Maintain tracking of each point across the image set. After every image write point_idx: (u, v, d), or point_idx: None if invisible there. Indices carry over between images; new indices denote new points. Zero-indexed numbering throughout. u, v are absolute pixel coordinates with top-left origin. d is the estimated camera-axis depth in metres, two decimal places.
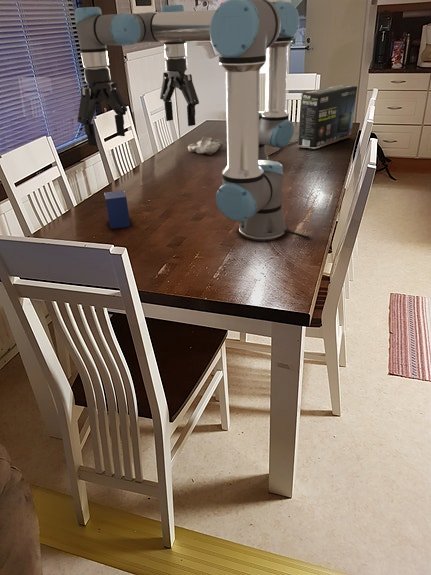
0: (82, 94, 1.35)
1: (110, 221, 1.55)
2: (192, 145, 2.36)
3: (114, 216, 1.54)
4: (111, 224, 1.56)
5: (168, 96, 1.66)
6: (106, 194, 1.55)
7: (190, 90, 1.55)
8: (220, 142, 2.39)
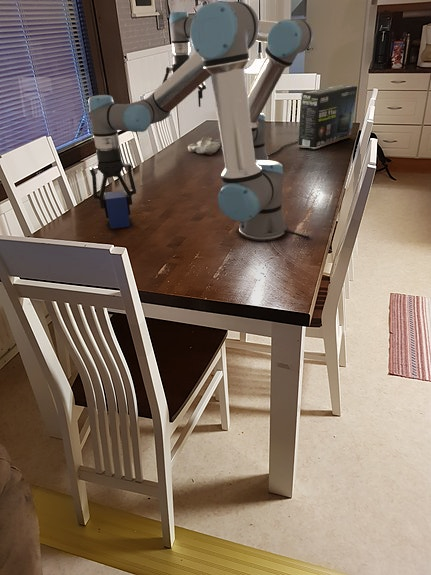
0: None
1: (110, 221, 1.55)
2: (192, 145, 2.36)
3: (114, 216, 1.54)
4: (111, 224, 1.56)
5: None
6: (106, 194, 1.55)
7: None
8: (220, 142, 2.39)
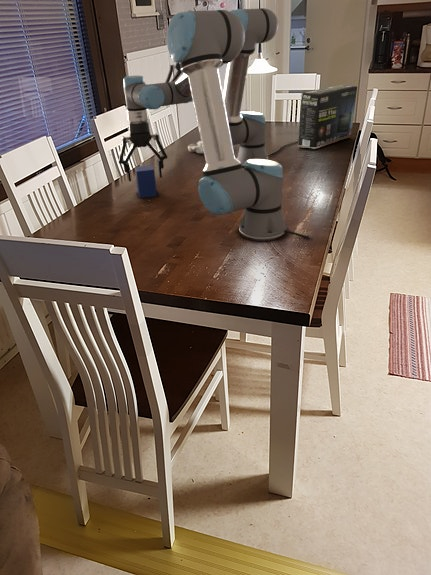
0: None
1: (140, 191, 1.80)
2: (192, 145, 2.36)
3: (143, 186, 1.80)
4: (140, 194, 1.81)
5: None
6: (136, 168, 1.80)
7: None
8: None
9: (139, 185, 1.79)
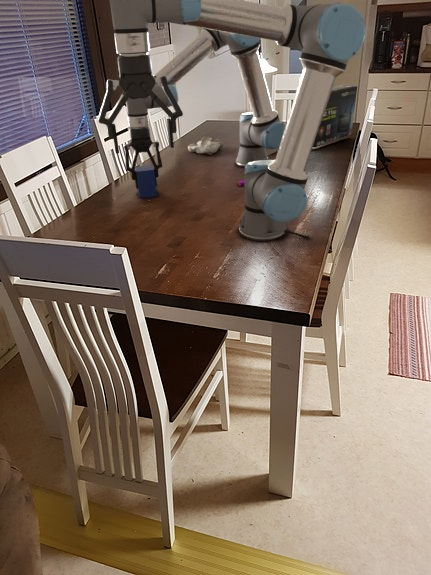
0: None
1: (140, 191, 1.80)
2: (192, 145, 2.36)
3: (143, 186, 1.80)
4: (140, 194, 1.81)
5: None
6: (136, 168, 1.80)
7: None
8: (220, 142, 2.39)
9: (139, 185, 1.79)
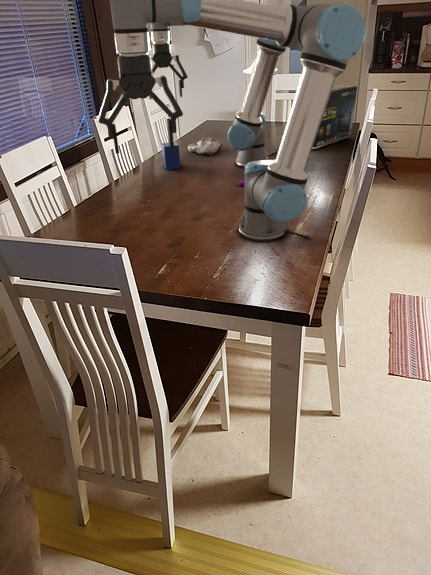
0: None
1: (166, 164, 2.12)
2: (192, 145, 2.36)
3: (169, 160, 2.11)
4: (167, 166, 2.12)
5: None
6: (163, 144, 2.12)
7: (182, 67, 1.96)
8: (220, 142, 2.39)
9: (166, 158, 2.11)
